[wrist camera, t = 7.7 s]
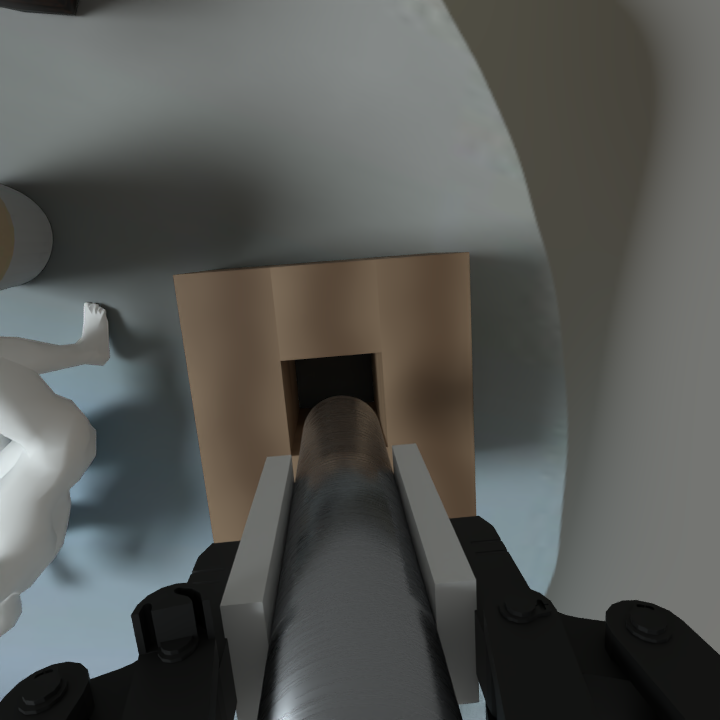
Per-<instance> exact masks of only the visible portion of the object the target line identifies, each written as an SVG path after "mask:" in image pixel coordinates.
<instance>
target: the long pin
mask: <svg viewBox="0 0 720 720" xmlns="http://www.w3.org/2000/svg"><path fill="white" fill-rule="evenodd" d="M257 720H462V716H461V713H460V709H459V705H458V702H457V698H456V695H455V691H454V688H453V684H452V680H451V677H450V673H449V670H448V666H447V663H446V659H445V655H444V652H443V648H442V645H441V641H440V638H439V634H438V631H437V627H436V623H435V620H434V616H433V613H432V609H431V606H430V602H429V598H428V595H427V591H426V588H425V584H424V581H423V577H422V573H421V570H420V566H419V563H418V559H417V556H416V552H415V548H414V545H413V541H412V538H411V534H410V531H409V527H408V523H407V520H406V516H405V513H404V509H403V506H402V502H401V498H400V495H399V491H398V488H397V484H396V481H395V477H394V473H393V470H392V466H391V463H390V459H389V456H388V452H387V448H386V445H385V441H384V438H383V434H382V431H381V427H380V423H379V420H378V418H377V415H376V414H375V412H374V411H373V410H372V408H371V407H370V406H369V405H368V404H366V403H365V402H363V401H362V400H360V399H357V398H355V397H351V396H333V397H330V398H327V399H325V400H323V401H321V402H320V403H318V404H317V405H316V406H315V407H314V408H313V409H312V410H311V411H310V412H309V414H308V416H307V418H306V420H305V423H304V427H303V434H302V440H301V446H300V452H299V459H298V465H297V471H296V477H295V484H294V490H293V496H292V503H291V509H290V515H289V521H288V528H287V534H286V540H285V547H284V553H283V559H282V565H281V572H280V578H279V584H278V591H277V597H276V603H275V609H274V616H273V622H272V628H271V634H270V641H269V647H268V653H267V660H266V666H265V672H264V678H263V685H262V691H261V697H260V704H259V710H258V716H257Z"/></svg>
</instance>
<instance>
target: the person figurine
mask: <svg viewBox="0 0 720 720" xmlns="http://www.w3.org/2000/svg"><path fill="white" fill-rule="evenodd" d="M98 307H99V304H95V303H91V304H90V303H85V304H84V323H83V332H82V337H81V338H80V339H79V340H78V341H77V342H76V343H75V344H69V345H55V344H50V343H45V342H40V341H35V340H30V339H25V338H20V337H0V637H1V636H2V635H3V634H5V633H6V632H7V631H9V630H10V629H11V628H13V627H14V626H15V624H16V622H17V620H18V618H19V616H20V615H21V613H22V602H21V598H20V594H21V593H22V592H24V591H25V590H27V589H28V588H30V587H31V586H32V584H33V583H34V582H35V581H36V579H37V578H38V577H39V576H40V574H41V573H42V572H43V571H44V569H45V568H46V567H47V566H48V565H49V564H50V563H51V562H52V561H53V560H54V559H55V557H56V556H57V554H58V552H59V551H60V549H61V547H62V546H63V544H64V539H65V535H66V531H67V526H68V522H69V516H70V509H71V499H70V492H69V489H70V488H71V487H72V486H73V485H74V484H75V483H77V482H78V481H79V480H80V479H81V477H82V476H83V474H84V473H85V472H86V470H87V469H88V467H89V466H90V464H91V463H92V461H93V460H94V458H95V457H96V430H95V429H94V427H93V426H92V425H91V424H90V423H89V420H88V419H87V417H86V416H85V415H84V414H83V413H82V412H81V410H80V409H79V408H78V407H77V406H76V404H75V403H74V402H73V401H72V400H70V399H67V398H65V397H62V396H60V395H57V394H55V393H54V392H53V391H52V389H51V388H50V387H49V386H48V385H47V384H46V382H45V381H44V380H43V379H42V378H41V377H40V376H39V374H43V373H48V372H52V371H57V370H61V369H66V368H70V367H74V366H79V365H83V364H87V365H98V366H103V365H104V364H105V363H106V362H107V361H108V360H109V358H110V349H109V330H108V320H107V317H106V310H105V309H103V308H102V307H99V308H98Z"/></svg>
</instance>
